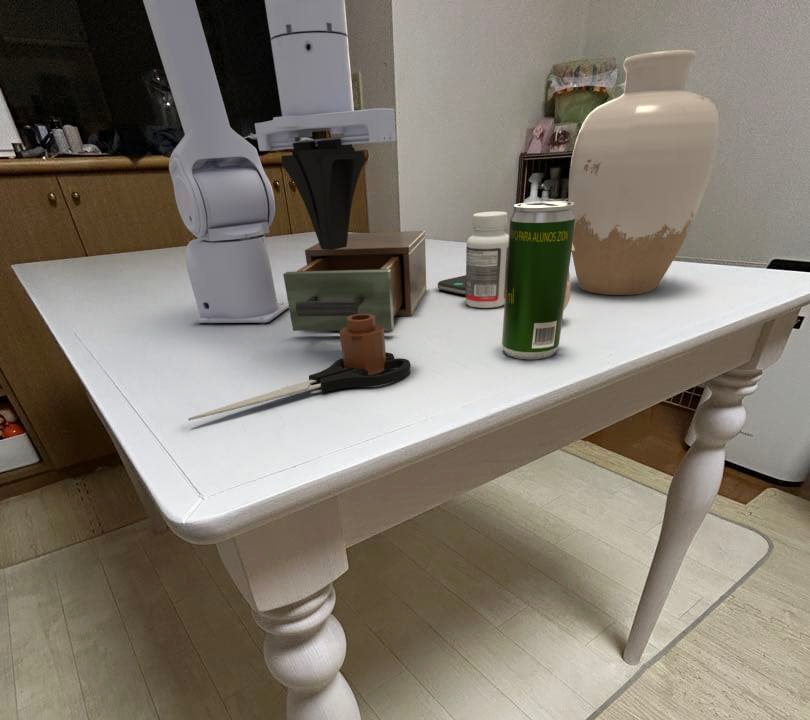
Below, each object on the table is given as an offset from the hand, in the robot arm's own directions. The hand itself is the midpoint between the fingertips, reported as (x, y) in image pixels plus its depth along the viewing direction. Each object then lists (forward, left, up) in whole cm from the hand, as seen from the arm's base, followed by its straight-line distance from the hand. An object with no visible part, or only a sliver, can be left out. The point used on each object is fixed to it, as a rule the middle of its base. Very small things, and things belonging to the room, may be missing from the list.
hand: (334, 248), depth 46 cm
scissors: (-1, -11, -10) cm, 14 cm away
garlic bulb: (+19, +11, -10) cm, 24 cm away
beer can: (+18, +1, -10) cm, 21 cm away
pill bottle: (+13, +20, -10) cm, 26 cm away
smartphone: (+13, +31, -9) cm, 35 cm away
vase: (+30, +28, -10) cm, 42 cm away
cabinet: (-2, +21, -9) cm, 23 cm away
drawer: (-2, +9, -9) cm, 12 cm away
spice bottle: (+3, -5, -9) cm, 11 cm away
